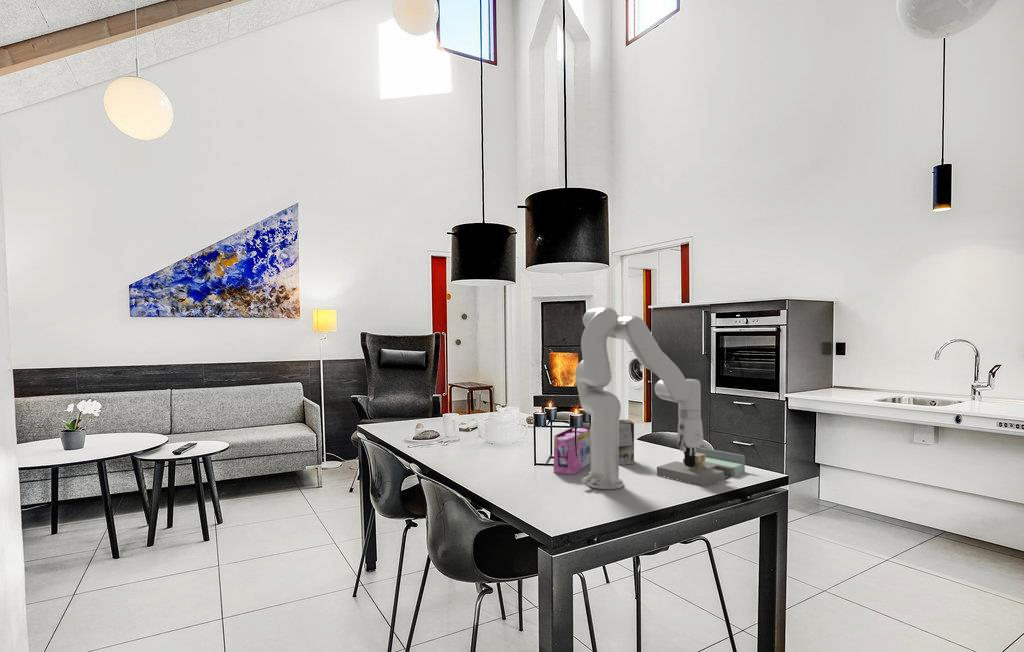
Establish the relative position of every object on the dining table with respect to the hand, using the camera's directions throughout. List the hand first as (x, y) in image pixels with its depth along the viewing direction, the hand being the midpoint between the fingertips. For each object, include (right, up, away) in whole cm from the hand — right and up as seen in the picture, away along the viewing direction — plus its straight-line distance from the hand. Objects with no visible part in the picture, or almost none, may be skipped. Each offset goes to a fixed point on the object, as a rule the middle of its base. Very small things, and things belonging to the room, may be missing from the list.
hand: (689, 465), depth 188 cm
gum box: (-39, -5, +16) cm, 42 cm away
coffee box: (-19, -5, +22) cm, 29 cm away
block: (+3, -1, +3) cm, 5 cm away
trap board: (+6, -4, +5) cm, 9 cm away
